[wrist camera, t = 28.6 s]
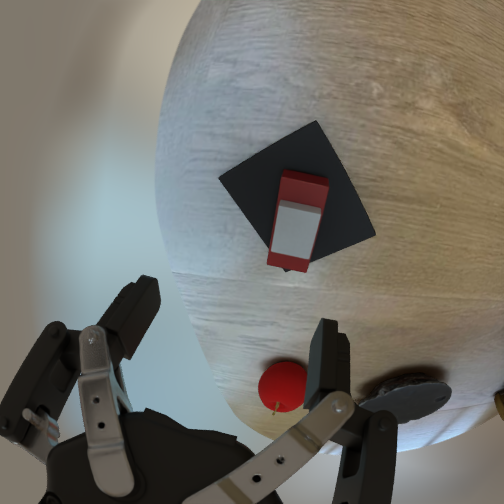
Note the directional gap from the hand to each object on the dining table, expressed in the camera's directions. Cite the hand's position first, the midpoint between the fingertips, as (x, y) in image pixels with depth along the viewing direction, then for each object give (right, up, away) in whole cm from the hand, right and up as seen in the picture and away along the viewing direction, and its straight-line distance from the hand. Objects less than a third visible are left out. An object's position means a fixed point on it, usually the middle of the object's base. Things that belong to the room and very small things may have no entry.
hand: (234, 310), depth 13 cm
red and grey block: (+5, +2, +18) cm, 18 cm away
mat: (+6, +8, +16) cm, 19 cm away
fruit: (+7, -18, +35) cm, 40 cm away
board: (+32, -26, +33) cm, 53 cm away
